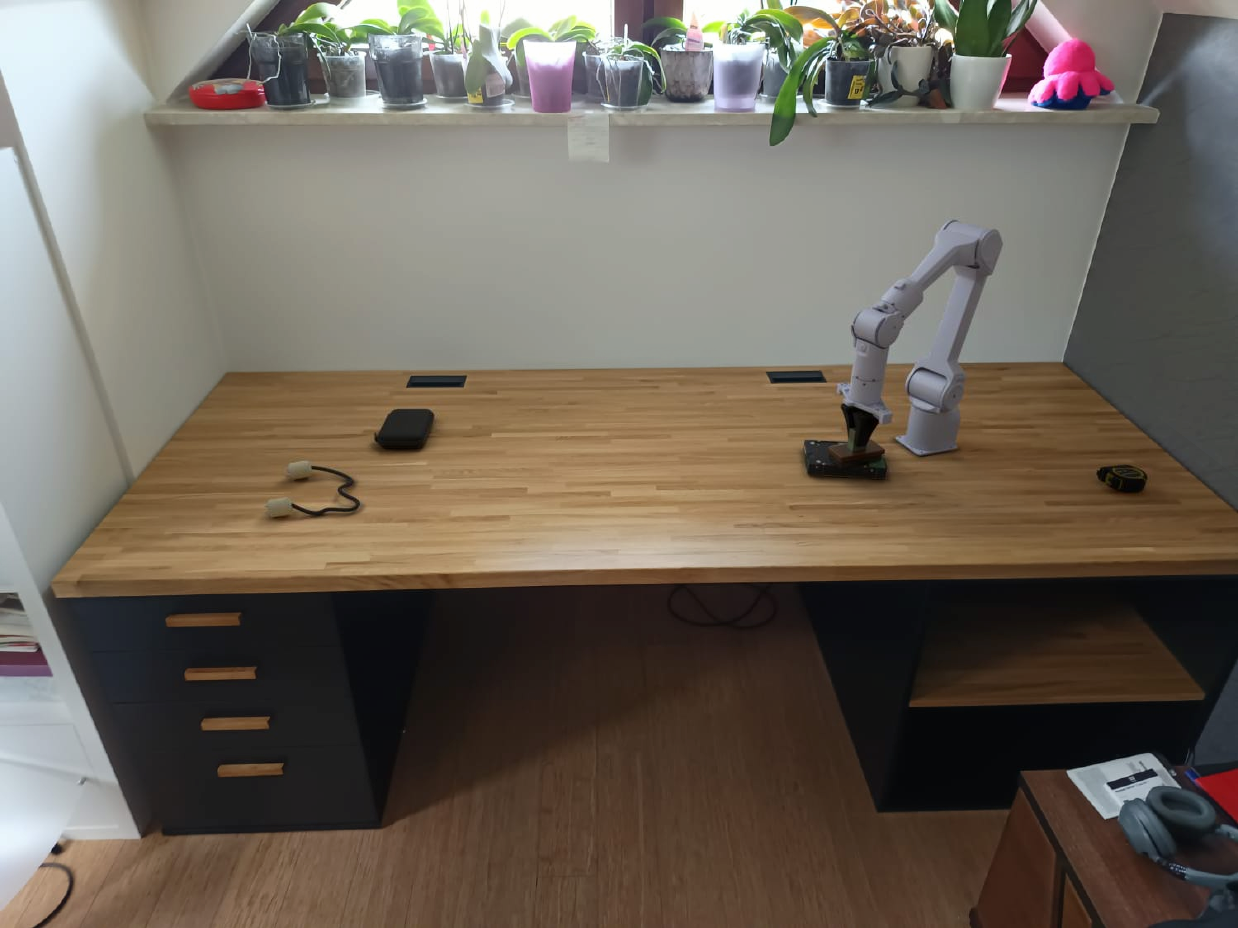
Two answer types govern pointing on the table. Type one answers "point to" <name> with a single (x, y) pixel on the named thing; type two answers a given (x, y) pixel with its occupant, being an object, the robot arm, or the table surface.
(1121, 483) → the tape measure
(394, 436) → the carrying case
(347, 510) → the cable
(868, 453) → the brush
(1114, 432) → the table surface
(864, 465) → the disk drive
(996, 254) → the robot arm
